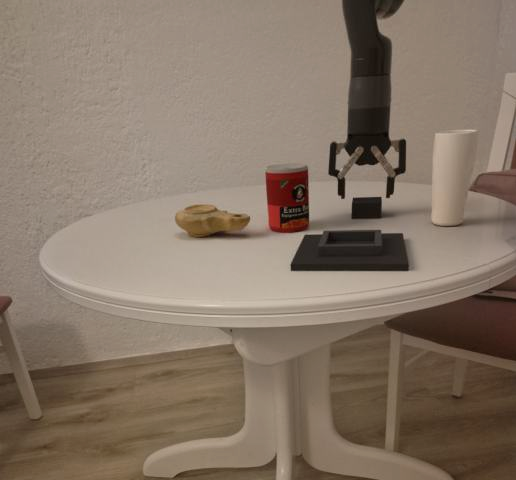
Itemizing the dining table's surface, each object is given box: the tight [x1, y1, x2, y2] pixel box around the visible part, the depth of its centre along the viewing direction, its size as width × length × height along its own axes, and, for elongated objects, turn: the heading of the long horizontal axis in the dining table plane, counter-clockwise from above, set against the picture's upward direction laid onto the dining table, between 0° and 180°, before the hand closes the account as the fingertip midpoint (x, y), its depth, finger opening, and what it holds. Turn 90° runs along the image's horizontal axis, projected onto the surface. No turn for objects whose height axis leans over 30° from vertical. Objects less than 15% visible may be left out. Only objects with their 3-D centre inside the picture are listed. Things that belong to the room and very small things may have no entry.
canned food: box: [264, 162, 310, 233], centre depth 88 cm, size 8×8×11 cm
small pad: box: [351, 196, 383, 220], centre depth 95 cm, size 6×6×3 cm
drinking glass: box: [430, 129, 479, 227], centre depth 82 cm, size 7×7×15 cm
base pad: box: [290, 229, 410, 272], centre depth 73 cm, size 16×16×2 cm
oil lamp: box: [174, 204, 251, 238], centre depth 89 cm, size 11×14×5 cm
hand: (365, 197), depth 94 cm, fingers open, 8 cm apart
